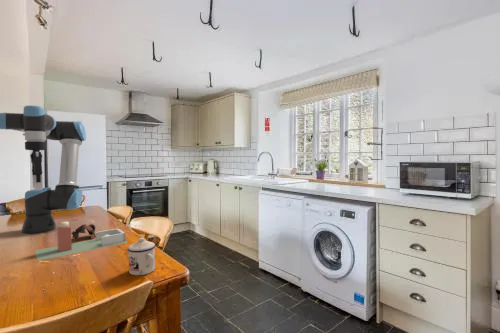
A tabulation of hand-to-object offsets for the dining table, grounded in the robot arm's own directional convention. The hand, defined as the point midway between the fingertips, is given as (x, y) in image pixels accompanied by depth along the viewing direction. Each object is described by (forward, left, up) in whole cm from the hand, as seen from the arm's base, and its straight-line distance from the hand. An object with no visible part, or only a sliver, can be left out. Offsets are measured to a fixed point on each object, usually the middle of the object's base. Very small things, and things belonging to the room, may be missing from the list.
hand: (37, 188), depth 123 cm
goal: (+12, +26, -26) cm, 39 cm away
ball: (+15, +24, -24) cm, 37 cm away
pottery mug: (-2, +18, -27) cm, 33 cm away
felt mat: (+12, +15, -27) cm, 33 cm away
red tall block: (+12, +8, -26) cm, 30 cm away
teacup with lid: (+58, +26, -27) cm, 69 cm away
